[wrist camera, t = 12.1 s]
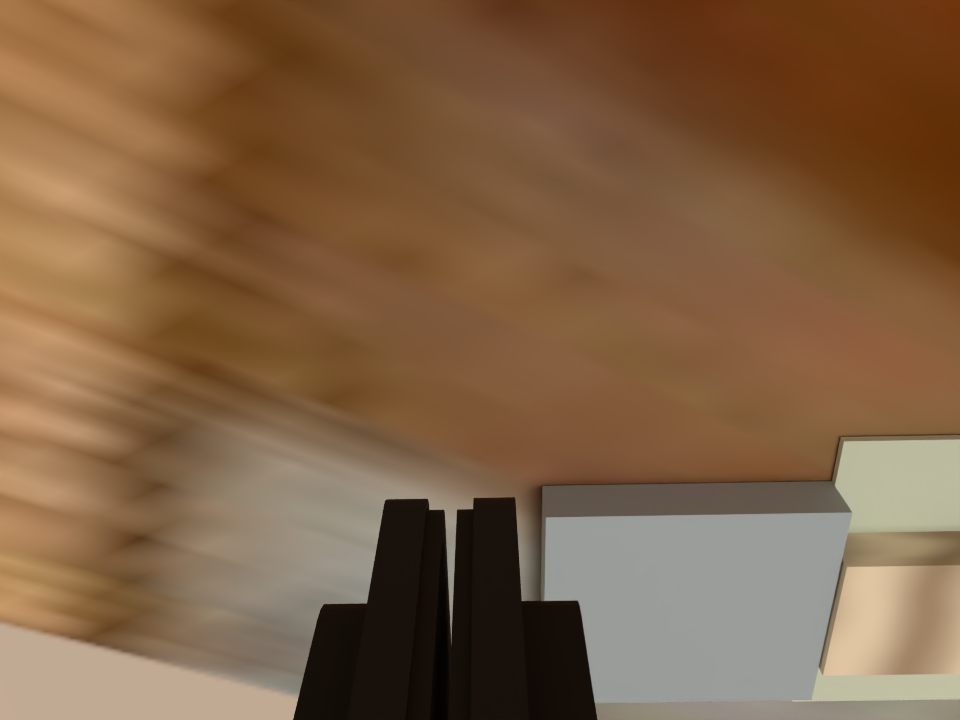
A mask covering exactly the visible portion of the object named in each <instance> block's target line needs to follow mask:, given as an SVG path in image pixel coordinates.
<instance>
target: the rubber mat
mask: <svg viewBox="0 0 960 720" xmlns="http://www.w3.org/2000/svg"><path fill="white" fill-rule="evenodd" d="M832 482H833V484H834V485H835V487H836V488H837V490H838V491H839V493H840V494H841V496H842V497H843V499H844V500H845V502H846V503H847V505H848V506H849V508H850V510H851V511H852V517H851V521H850V526H849V530H848V533H877V532H941V531H960V435H923V436H864V437H841V438H840V443H839V448H838V453H837V458H836V463H835V468H834V473H833V478H832ZM938 699H960V674H915V675H843V676H823V675H822V673H821V671H820V669H819V668H818V672H817V677H816V682H815V686H814V691H813V695H812V700H791V702H795V701H866V700H938Z"/></svg>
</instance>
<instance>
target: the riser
mask: <svg viewBox="0 0 960 720" xmlns="http://www.w3.org/2000/svg"><path fill="white" fill-rule="evenodd" d="M851 517H852V511H851V510H850V508H849V506H848V505H847V503H846V502H845V500H844V499H843V497H842V496H841V494H840V493H839V491H838V490H837V488H836V487H835V485H834V484H833V482H832V481H804V482H744V483H683V484H623V485H563V486H542V541H541V601H573V600H578V602H579V605H580V610H581V615H582V622H583V628H584V635H585V642H586V648H587V655H588V662H589V668H590V675H591V682H592V688H593V695H594V702H595V703H633V702H705V701H777V700H812V695H813V691H814V686H815V682H816V677H817V672H818V668H819V663H820V659H821V654H822V649H823V645H824V640H825V636H826V631H827V627H828V622H829V617H830V613H831V608H832V604H833V599H834V595H835V590H836V585H837V581H838V576H839V572H840V567H841V563H842V558H843V553H844V549H845V544H846V540H847V535H848V530H849V526H850V521H851Z"/></svg>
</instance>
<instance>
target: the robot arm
mask: <svg viewBox="0 0 960 720" xmlns="http://www.w3.org/2000/svg"><path fill="white" fill-rule="evenodd" d="M293 720H597V715H596V708H595V702H594V695H593V688H592V682H591V675H590V668H589V662H588V655H587V648H586V642H585V635H584V628H583V622H582V615H581V610H580V605H579V602H578V600H573V601H522V599H521V583H520V567H519V551H518V535H517V519H516V503H515V497H511V498H474V503H473V509H466V510H457V525H456V548H455V572H454V596H453V620H452V643H451V631H450V610H449V590H448V569H447V548H446V528H445V512H444V510H429V502H428V499H389V500H386V501H385V504H384V509H383V515H382V520H381V526H380V532H379V538H378V544H377V549H376V555H375V561H374V567H373V572H372V578H371V584H370V590H369V596H368V601H367V604H324V605H323V606H322V608H321V610H320V613H319V616H318V620H317V624H316V628H315V632H314V636H313V640H312V644H311V648H310V653H309V657H308V661H307V665H306V669H305V673H304V677H303V681H302V685H301V690H300V694H299V698H298V702H297V706H296V711H295V714H294V719H293Z"/></svg>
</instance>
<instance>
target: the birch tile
mask: <svg viewBox="0 0 960 720" xmlns="http://www.w3.org/2000/svg"><path fill="white" fill-rule="evenodd" d="M819 669H820V671H821V673H822V675H823V676H843V675H915V674H960V531H941V532H877V533H848V535H847V540H846V544H845V549H844V553H843V558H842V563H841V567H840V572H839V576H838V581H837V585H836V590H835V595H834V599H833V604H832V608H831V613H830V617H829V622H828V627H827V631H826V636H825V640H824V645H823V649H822V654H821V659H820V663H819Z"/></svg>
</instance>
